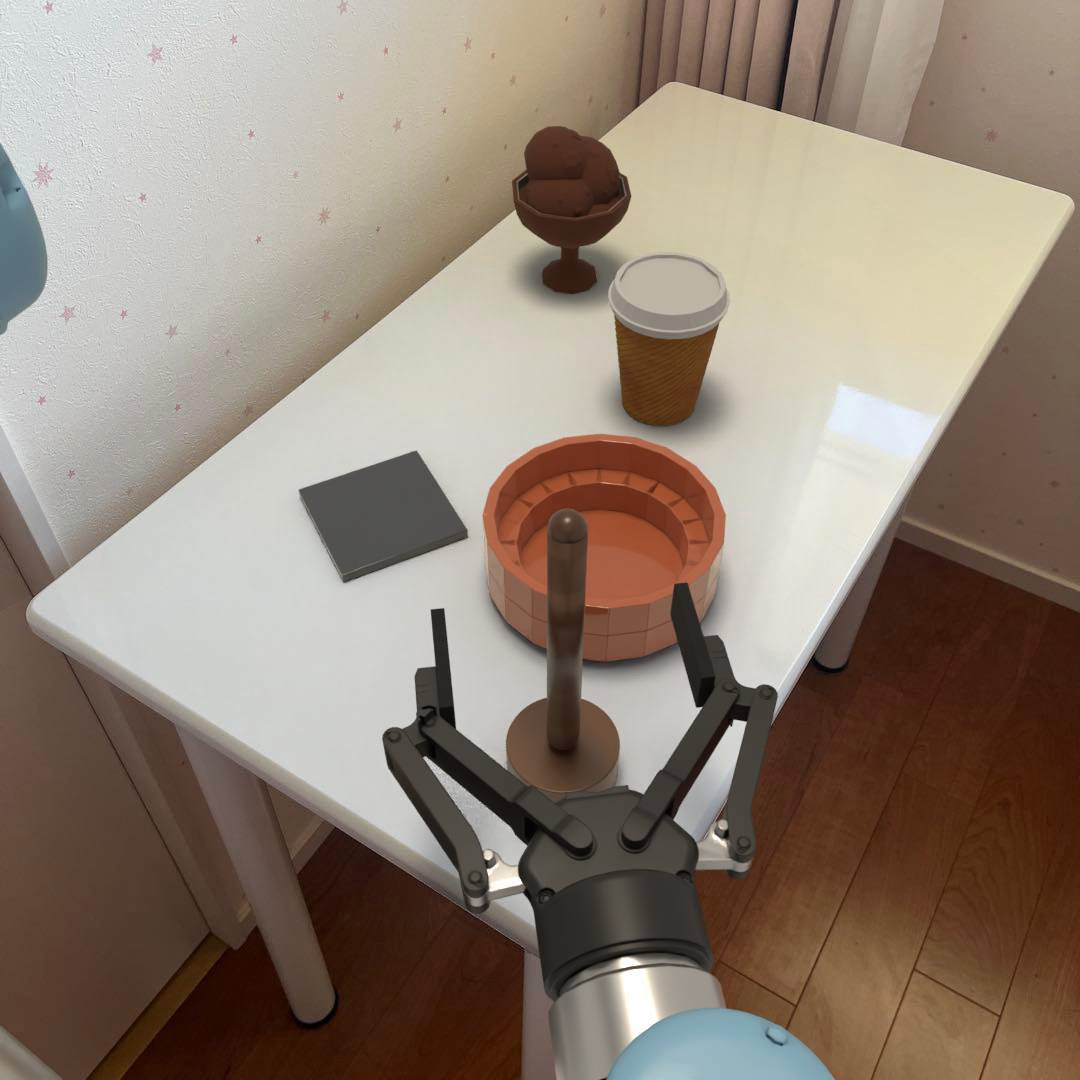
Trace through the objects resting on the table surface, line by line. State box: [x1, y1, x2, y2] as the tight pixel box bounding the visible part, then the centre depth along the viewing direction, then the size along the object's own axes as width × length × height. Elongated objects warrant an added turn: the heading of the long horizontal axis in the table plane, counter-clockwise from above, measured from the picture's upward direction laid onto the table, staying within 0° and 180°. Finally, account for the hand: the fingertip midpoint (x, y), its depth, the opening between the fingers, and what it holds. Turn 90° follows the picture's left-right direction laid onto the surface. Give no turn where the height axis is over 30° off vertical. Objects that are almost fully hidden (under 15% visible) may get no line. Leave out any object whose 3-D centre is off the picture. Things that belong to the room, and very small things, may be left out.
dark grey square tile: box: [298, 449, 469, 583], centre depth 85 cm, size 10×10×1 cm
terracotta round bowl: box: [482, 433, 727, 662], centre depth 78 cm, size 17×17×6 cm
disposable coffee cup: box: [607, 251, 731, 427], centre depth 90 cm, size 10×10×12 cm
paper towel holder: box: [505, 509, 621, 803], centre depth 61 cm, size 7×7×23 cm
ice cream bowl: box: [511, 125, 632, 295], centre depth 102 cm, size 11×11×15 cm
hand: (559, 610), depth 62 cm, fingers open, 13 cm apart
